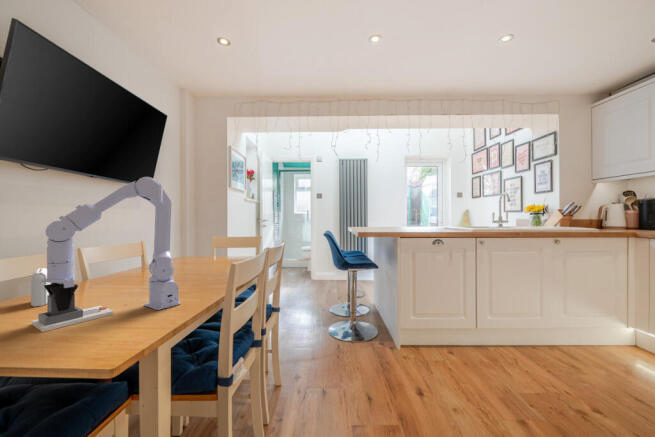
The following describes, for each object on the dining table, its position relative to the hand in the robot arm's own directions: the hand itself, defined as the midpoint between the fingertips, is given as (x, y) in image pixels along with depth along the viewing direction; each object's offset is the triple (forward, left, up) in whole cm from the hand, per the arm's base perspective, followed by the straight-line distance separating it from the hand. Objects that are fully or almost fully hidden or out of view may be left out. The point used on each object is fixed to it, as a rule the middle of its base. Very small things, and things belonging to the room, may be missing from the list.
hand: (61, 308), depth 80 cm
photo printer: (+30, -2, -4) cm, 30 cm away
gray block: (0, 0, -2) cm, 2 cm away
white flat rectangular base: (0, -3, -4) cm, 5 cm away
